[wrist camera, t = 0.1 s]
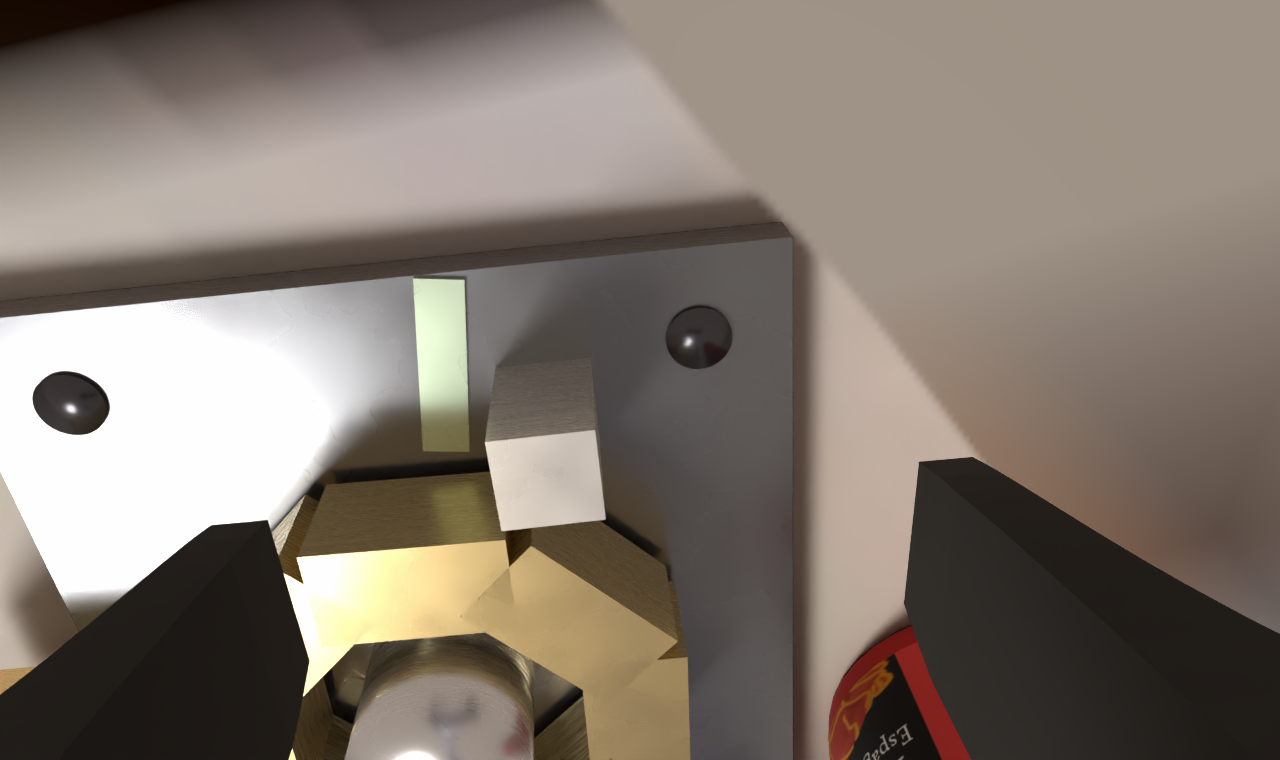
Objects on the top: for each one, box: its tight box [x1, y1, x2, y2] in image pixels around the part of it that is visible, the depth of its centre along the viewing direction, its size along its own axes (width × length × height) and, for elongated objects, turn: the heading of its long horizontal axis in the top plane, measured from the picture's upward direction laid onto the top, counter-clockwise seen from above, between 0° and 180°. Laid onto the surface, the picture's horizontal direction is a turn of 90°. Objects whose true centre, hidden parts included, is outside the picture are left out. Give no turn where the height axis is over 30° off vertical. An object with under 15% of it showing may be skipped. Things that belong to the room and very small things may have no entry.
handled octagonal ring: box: [0, 472, 690, 760], centre depth 21 cm, size 17×11×2 cm, turn 93°
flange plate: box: [0, 222, 793, 760], centre depth 21 cm, size 18×17×4 cm
